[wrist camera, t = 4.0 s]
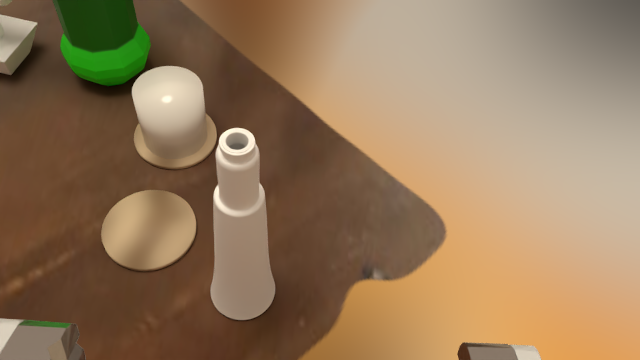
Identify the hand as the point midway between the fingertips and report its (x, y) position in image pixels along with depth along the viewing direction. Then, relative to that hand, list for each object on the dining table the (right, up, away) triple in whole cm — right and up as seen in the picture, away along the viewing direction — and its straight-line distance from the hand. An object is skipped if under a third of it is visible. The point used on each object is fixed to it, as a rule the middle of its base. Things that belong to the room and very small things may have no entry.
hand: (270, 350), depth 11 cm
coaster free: (-16, -1, +42) cm, 45 cm away
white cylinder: (-15, +9, +49) cm, 52 cm away
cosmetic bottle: (-6, -7, +39) cm, 40 cm away
